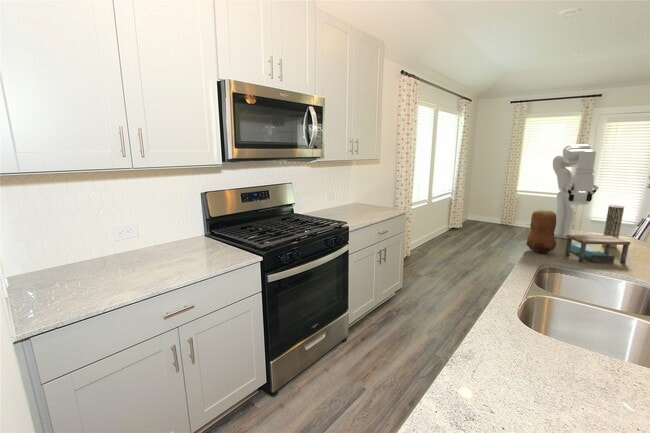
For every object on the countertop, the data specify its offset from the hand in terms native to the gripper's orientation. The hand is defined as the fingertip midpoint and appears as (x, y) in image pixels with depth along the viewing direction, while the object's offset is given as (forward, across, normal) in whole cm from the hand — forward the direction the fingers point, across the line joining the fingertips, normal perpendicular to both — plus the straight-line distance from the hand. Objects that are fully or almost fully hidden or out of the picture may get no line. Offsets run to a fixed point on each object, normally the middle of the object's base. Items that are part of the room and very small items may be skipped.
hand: (579, 201), depth 184 cm
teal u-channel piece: (+28, +4, +17) cm, 33 cm away
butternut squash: (+28, +26, +14) cm, 41 cm away
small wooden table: (+28, +4, +24) cm, 37 cm away
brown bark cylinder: (+28, -22, -2) cm, 36 cm away
